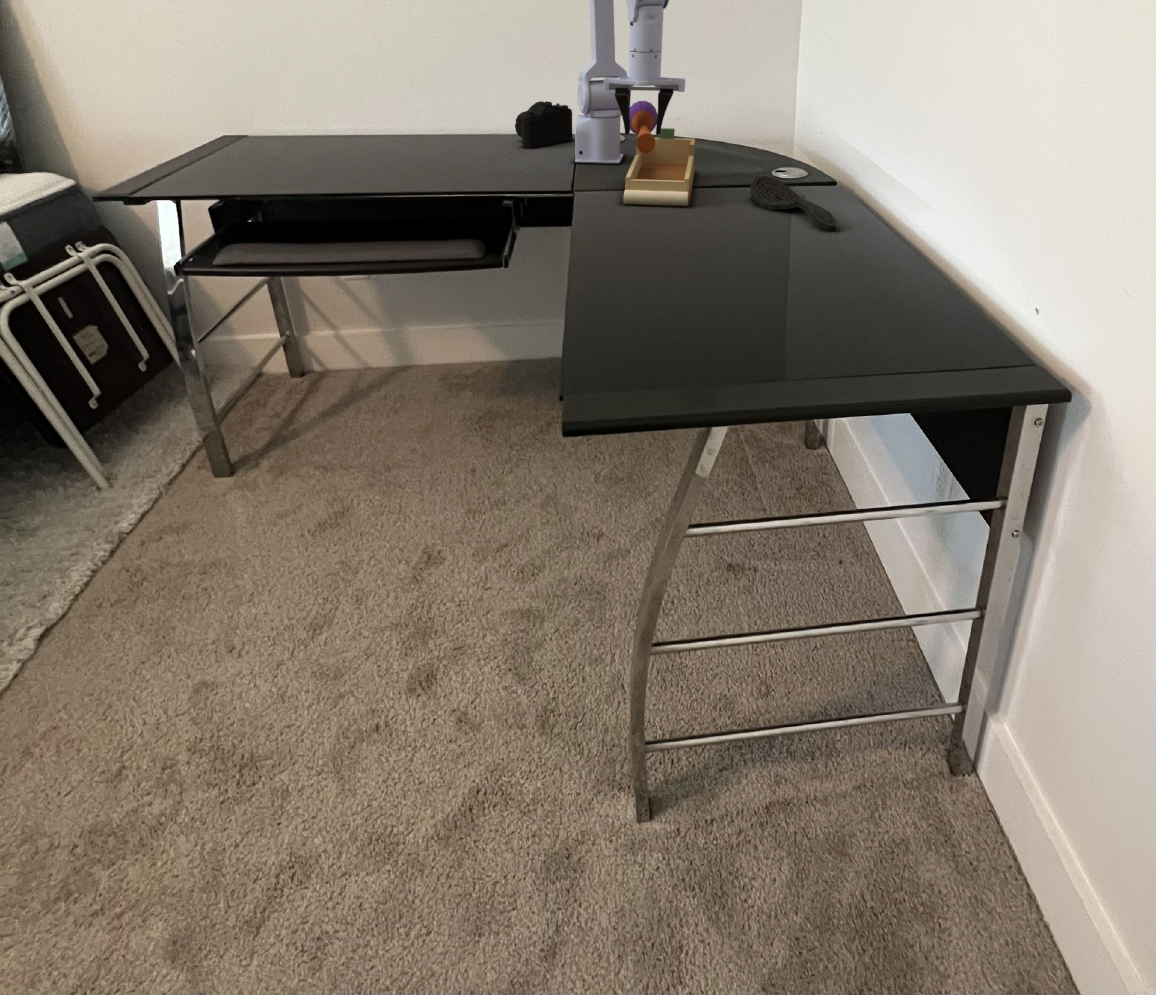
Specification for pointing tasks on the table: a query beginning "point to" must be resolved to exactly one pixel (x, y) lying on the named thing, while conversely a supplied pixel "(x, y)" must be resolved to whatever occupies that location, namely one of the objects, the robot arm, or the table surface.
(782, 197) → the hairbrush
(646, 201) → the wooden tray
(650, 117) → the kendama
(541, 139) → the film camera
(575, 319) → the table surface
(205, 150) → the table surface
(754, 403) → the table surface
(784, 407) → the table surface
